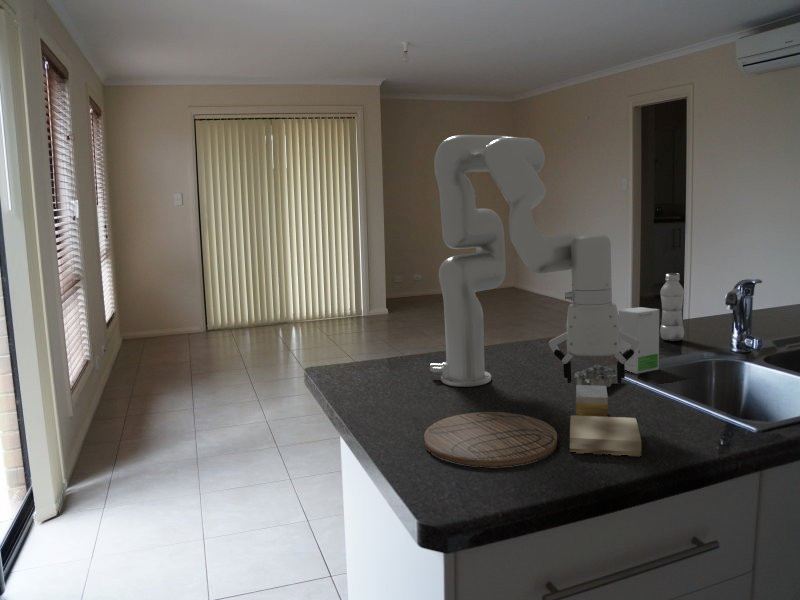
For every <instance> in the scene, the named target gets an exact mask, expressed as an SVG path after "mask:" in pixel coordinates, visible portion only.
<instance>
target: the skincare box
mask: <svg viewBox="0 0 800 600" xmlns="http://www.w3.org/2000/svg"><path fill="white" fill-rule="evenodd" d="M618 318H619V328H620V332H622V333H624V334H627V335H629V336H631V337H633V338H635V339H637V340H638V341H639V345H638V347H637V349H636V351H635V352H634V354H633V356H631V357H630V358H629V359H628V360H627V361H626V363H625V370H627V371H630V372H629V373H631V372H632V373H631V374H636V375H638V374H642V373H646V372H653V371H657V370H659V368H660V363H659V362H660V361H659V360H660V309H658V308H649V307H644V306H643V307H641V306H639V307H629V308H623V309H622V308H621V309H618ZM629 346H630V344H629V343H627V342H625V341H623V340H621V339H620V351H621V352H622V354H623V353H624V352H625V351H626V350H627V349H628V348H629ZM627 371H626V372H627Z"/></svg>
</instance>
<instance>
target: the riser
mask: <svg viewBox="0 0 800 600" xmlns="http://www.w3.org/2000/svg"><path fill="white" fill-rule="evenodd" d="M569 423H570V425H569V453H570V452H576V453H575V454H584V453H593V454H592V455H602V454H605V455H606V454H607V455H608V454H611V455H610V456H621V455H628V457H640V456H641V457H642V437H641V434H640V433H641V432H640V430H639V424H638V422H637V417H625V416H623V417H620V416H608V417H600V416H576V414H575V415H572V414H570V421H569ZM607 455H606V456H607ZM608 456H609V455H608Z"/></svg>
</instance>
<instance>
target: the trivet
mask: <svg viewBox="0 0 800 600" xmlns="http://www.w3.org/2000/svg"><path fill="white" fill-rule="evenodd" d="M423 437H424V438H423V441H425V443H424V448H425V447H426V448H427V449H428V450H429V451H430V452H431V453H433V454H435V455H436V456H438V457H440V458H443V459H446V460H449V461H452V462H455V463H460V464H464V465H470V466H478V467H480V466H482V467H502V466H514V465H519V464H526V463H529V462H533V461H536V460H540V459H543V458H544V457H546V456H548V455H549V454H551V455H552V454H553V453H554V452H555V451H556V450H557V448H558V432H557V431H556V430H555V428H554V426H551V425H550V424H549V423H547V422H546V421H543V420H542V419H541V420H540V419H539V418H536V417H532V416H528V415H523V414H519V413H513V412H511V413H510V412H505V411H504V412H503V411H502V412H501V411H484V412H479V411H478V412H470V413H469V412H467V413H462V414H457V415H452V416H449V417H444V418H443V419H440V420H438V421H435V422H434V423H432V424H431V425H430V426H429V427H427V428H426V429H425V432H424V434H423ZM556 447H557V448H556ZM426 448H425V449H426ZM554 450H555V451H554ZM553 451H554V452H553ZM548 457H549V456H548ZM546 458H547V457H546ZM543 460H544V459H543ZM540 461H541V460H540Z"/></svg>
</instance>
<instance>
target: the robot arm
mask: <svg viewBox="0 0 800 600" xmlns="http://www.w3.org/2000/svg"><path fill="white" fill-rule="evenodd" d="M545 161H546V155H545V151H544V148H543V147H542V145H541V144H540V143H539V142H538V141H537V140H536V139H534V138H531V137H516V136H506V135H492V134H491V135H488V134H487V135H486V134H484V135H483V134H481V135H479V134H459V135H453V136H450V137H448V138H446V139H444V140H443V141H442V142H440V144H439V146H438V147H437V149H436V152H435V155H434V162H433V166H434V174H435V178H436V182H437V188H438V191H439V192H438V193H439V204H440V206H439V207H440V219H441V220H440V221H441V233H442V234H441V235H442V239H443V243H444V244H445V245H446V247H448V248H449V249H451V250H452V249H453V250H465V249H466V250H467V249H473V248H474V249H475V253H465V254H457V255H453V256H450V257H448V258H446V259H445V260H443V261H442V262H441V264H440V266H439V270H438V280H439V285H440V289H441V293H442V299H443V300H442V301H443V308H444V309H443V311H444V313H443V315H444V329H445V330H444V331H445V333H444V334H445V337H444V338H445V359H446V361H443V362H442V363H437V362H436V363H435V362H433V363H432V362H431V363H430V365H429V370H430V371H431V372H433V373H437V374H438V373H441V376H440V381H441V382H442V383H443V384H444V385H447V386H451V387H459V388H460V387H461V388H462V387H463V388H465V387H467V388H469V387H478V386H483V385H486V384H488V383H490V382H491V380H492V375H491V373H490V372H488V371H486V370H485V369H486V368H485V335H484V333H485V332H484V331H485V330H484V312H483V307H482V304H481V302H480V301H479V298H478V297H477V294H476V293H478V292H483V291H488V290H493V289H497V288H498V287H499V286H501V285H502V283H503V282H504V280H505V278H506V273H507V271H506V269H507V266H506V265H507V264H506V263H507V262H506V248H505V247H506V246H505V245H506V244H505V232H504V231H505V229H504V225H503V222H502V219H501V218H500V216H499V214H498V213H497V212H496V211H494V210H493V209H490V208H485V207H484V208H477V206H476V205H477V204H476V192H475V188H474V186H473V184H472V182H471V180H470V179H469V177H468V176H467V175H466V174H467V173H472V172H474V173H482V172H483V173H484V172H485V173H487V172H488V173H489V174H490V176H491V179H493V181H494V183H495V184H496V186H497V188H498V190H499V191H500V193H501V195H502V196H503V199H505V201H506V203H507V204H508V206H509V208H510V211H509V214H508V221H507V222H508V235H509V240H510V242H511V244H512V246H513V247H514V250H515V251H516V253H517V255H518V256H519V259H521V261H522V262H523V263H524V265H525V266H526V268H528V269H529V270H530V271H532V272H534V273H536V274H549V273H555V272H562V271H569V270H571V290H570V291H567V292H564V299H565V300H570V301H571V302H572V303H570V304H569V305H568V308H567V314H566V315H567V316H566V332H563V333H562V334H560V335H558V336H555V337H554V338H552V339H550V340H549V341H548V345H549V348H550V350H551V351H552V352H553V355H554V356H555V357H556V358H557V359H558V360H560V361H561V363H562V364H563V378H564V379H567V381H566V382H567V384H571V383H572V361H571V359H572V358H573V357H574V356H576V357H577V356H578V357H579V356H580V357H583V356H584V357H593V356H594V357H605V356H607V357H608V356H609V357H611V356H613V357H615V359H616V360H617V361H616V372H617V382H618V383H617V384H622V379H625V378H626V373H625V372H626V371H625V363H626V361H627V360H628V359H629V358H630V357H631V356H633V354H634V352H635V351H636V349H637V347H638V345H639V341H638V340H637V339H635V338H633V337H631V336H629V335H627V334H624V333H622V332H620V328H619V310H618V307H617V304H616V303H614V302H613V290H612V281H613V279H612V244H611V239H610V237H609V236H607V235H605V234H578V233H575V232H574V233H571V232H569V233H561V234H559V233H558V234H557V233H556V234H547V235H543V234H542V233H541V230H540V229H539V228H538V226H537V225H536V222H535V221H534V218H533V215H532V210H533V209H535V208H536V207H537V206H538V205H539V204H540V203H541V202H542V201H543V200H544V198H545V197H546V194H547V188H546V185H545V184H544V183H543V181H542V180H541V178H540V177H539V173H540V172H541V170H542V169H543V167H544V165H545ZM620 339H621V340H623V341H625V342H627V343H629V344H630V346H629V348H628V349H627V350H626V351H625V352H624V353H623V354H622V352H621V351H620ZM565 341H566V352H563V351H562V350H561V349H560V348H559V347H558V345H559V344H561V343H563V342H565Z"/></svg>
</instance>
